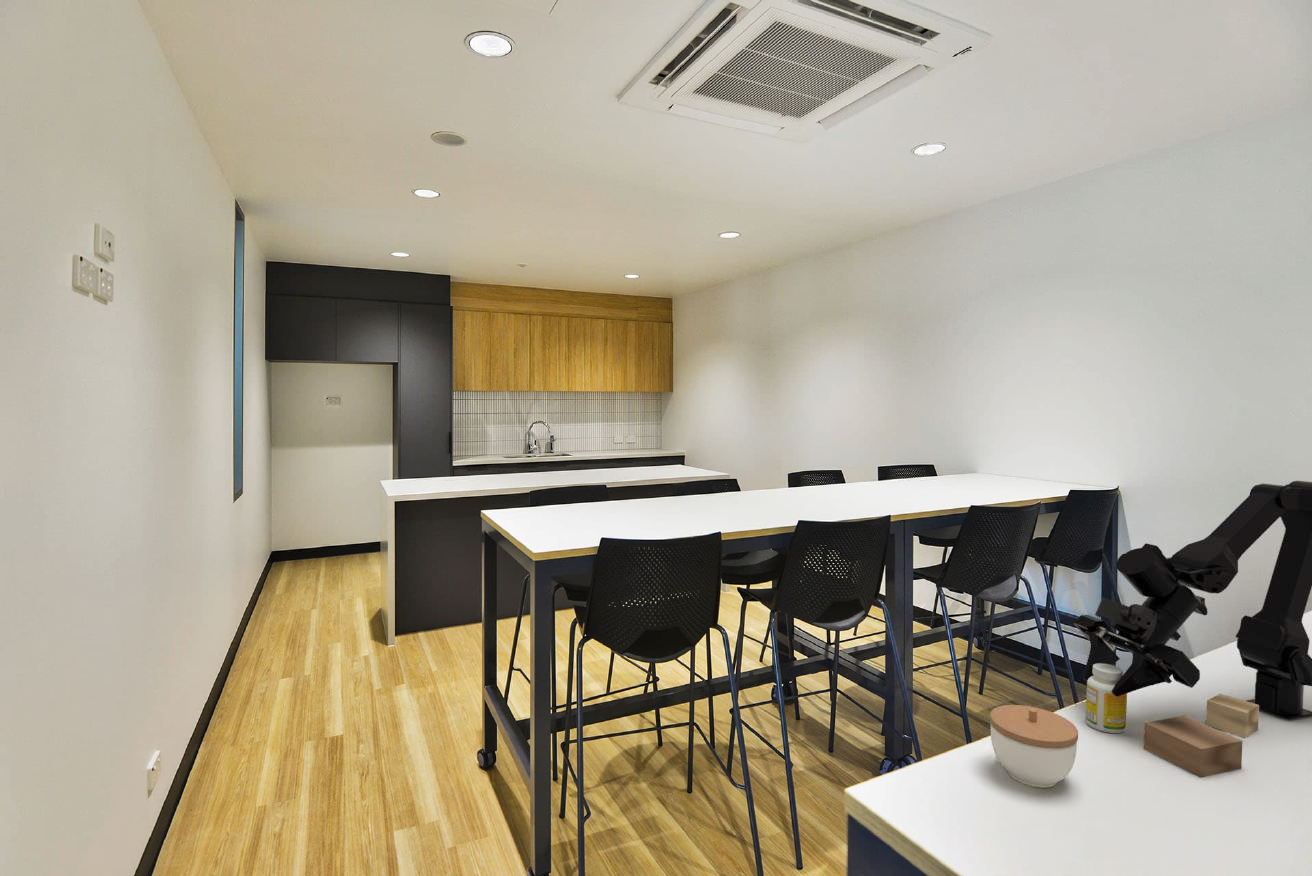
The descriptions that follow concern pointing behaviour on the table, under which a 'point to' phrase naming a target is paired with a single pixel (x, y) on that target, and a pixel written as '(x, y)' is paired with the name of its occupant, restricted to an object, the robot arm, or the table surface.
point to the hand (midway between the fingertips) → (1099, 686)
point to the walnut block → (1193, 745)
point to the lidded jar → (1033, 744)
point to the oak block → (1232, 715)
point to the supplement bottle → (1105, 700)
